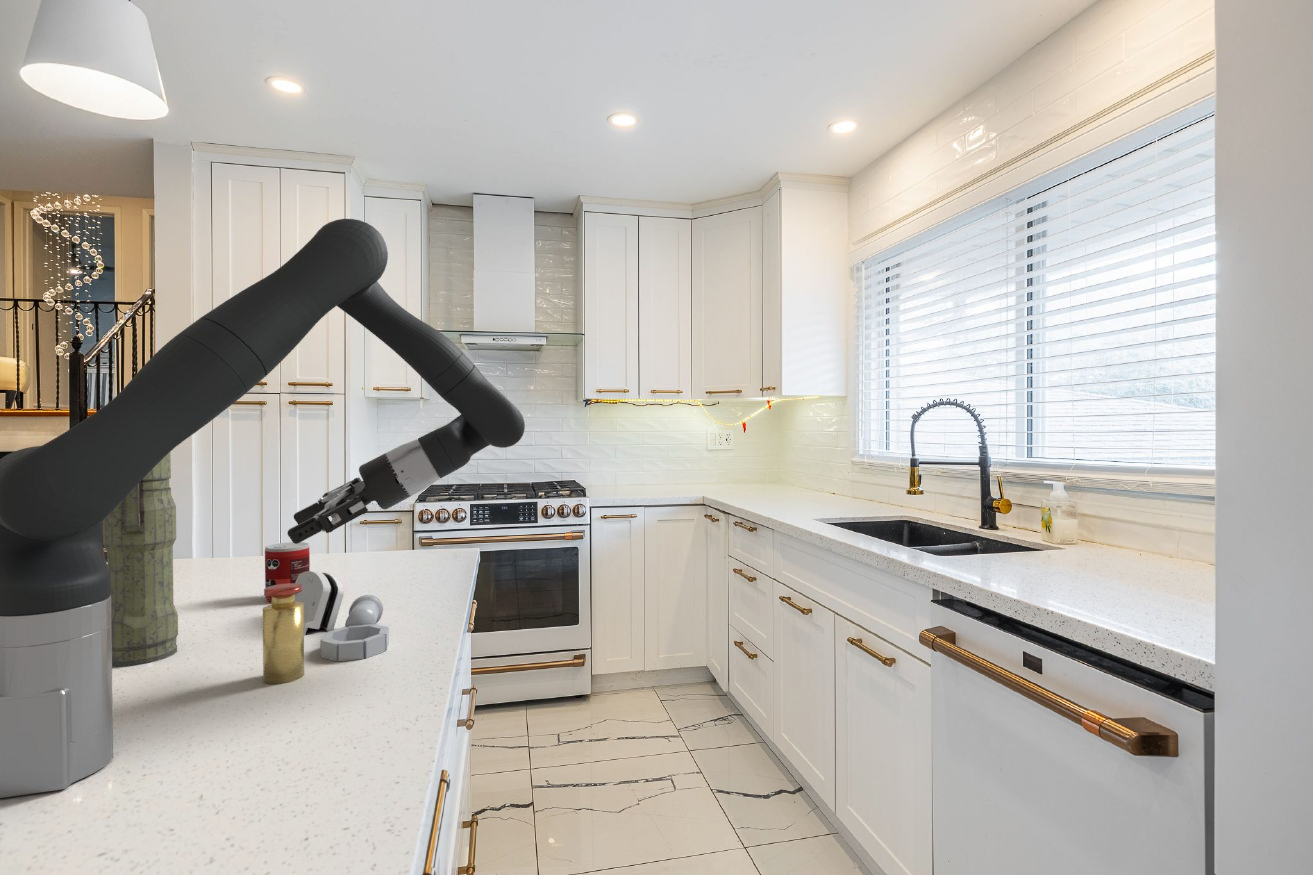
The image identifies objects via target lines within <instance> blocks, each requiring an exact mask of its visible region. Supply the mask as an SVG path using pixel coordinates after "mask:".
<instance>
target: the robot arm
mask: <svg viewBox="0 0 1313 875" xmlns="http://www.w3.org/2000/svg"><path fill="white" fill-rule="evenodd" d="M388 254H389V253H388V246H387V243H386V241H385V238H384V237H383V235H382V234H381V233H380V231H379V230H377V228H375V227H374V226H372V225H371V224H369V223H367V222H365V221H363V220H360V219H355V218H340V219H336V220H332V221H329V222H328V223H325V224H324V225H323V226H321V227H320V228H319V229H318V230H317V232H316V233H315V234H314V236H312V237H311V239H309V241H308V242H307V243H305V245H304V246H303V247H302V248H300V250H299V251H297V252H296V253H295V254H294V255H293V256H292V257H291V258H290V259H289V260H287V261H286V262H285V263H284V264H282V265H281V266H280V267H279V268H278V269H276V270H275V271H273V272H272V273H270V274H269V275H267V276H265V277H263V278H261V279H260V280H258V281H257V282H254V283H253V284H251V285H250V286H248V287H246V288H245V289H243V290H241V291H240V292H238V293H236V294H235V295H233V296H232V297H230V298H228V299H227V300H225V301H223V302H222V303H221V304H219V305H218V306H216V307H215V308H214V309H212V310H210V311H209V312H206V314H204V315H203V316H201V317H199V318H198V319H196V320H195V321H194V322H193V323H192V324H190V325H189V326H187V327H186V328H185V329H183V330H182V331H181V332H179V333H178V334H176V335H175V336H173V338H171V339H170V340H169V341H168V342H167V343H165V344H164V345H163V346H162V347H161V348H160V349H159V350H157V352H155V354H154V355H153V356H152V357H151V358H150V359H149V360H147V362H146V363H145V364H144V365H143V366H142V367H141V368H140V369H139V371H137V373H136V374H135V375H134V377H133V378H132V379H131V380H130V381H129V382H128V383H127V384H126V386H125V387H124V388H123V389H122V390H121V391H119V393H118V394H117V395H116V396H115V397H114V398H112V399H111V400H110V401H109V402H108V403H106V404H105V405H104V406H103V407H101V408H100V409H98V410H97V411H96V412H94V413H92V415H91V414H90V415H89V416H88V417H86V418H85V419H83V420H82V421H80V422H79V423H77V424H75V425H74V426H72V427H71V428H69V429H68V430H67V431H65V432H63V433H62V434H60V435H57V437H54V438H53V439H52V440H49V441H48V442H46V443H44V444H42V445H37V446H36V445H35V446H31V447H25V448H21V449H18V450H15V451H13V452H10V453H8V454H6V455H4V456H3V457H1V458H0V799H3V798H9V797H11V798H12V797H17V796H25V795H32V794H38V793H45V792H52V791H53V792H54V791H60V790H65V789H67V788H68V787H69V786H70V785H72V784H73V783H75V782H77V781H79V780H81V779H83V778H86V777H89V776H91V775H92V774H94V773H96V772H98V771H99V770H101V769H103V768H104V767H105V766H107V765H108V764H109V763H110V762H111V761H112V759H113V758H114V717H113V716H114V715H113V713H114V712H113V711H114V710H113V703H114V702H113V666H112V632H111V623H112V620H111V574H110V571H109V568H108V565H107V559H106V557H105V556H106V555H105V550H104V546H103V520H104V519H105V518H106V517H107V516H108V515H109V514H110V513H111V512H112V511H113V510H114V509H115V508H116V507H117V506H118V505H119V504H120V502H121V501H122V500H123V499H124V498H125V497H126V496H127V495H128V494H129V493H130V492H131V491H132V490H133V489H134V488H135V486H136V485H137V484H138V483H139V482H140V481H141V480H142V479H143V478H144V477H145V476H146V475H147V474H148V473H149V472H150V471H151V470H152V469H153V468H154V467H155V466H156V465H157V464H158V463H159V462H160V461H161V460H162V459H163V458H164V457H165V456H166V455H167V454H168V453H169V452H170V453H171V452H172V451H173V450H174V449H175V448H176V447H178V446H179V445H180V444H182V443H183V442H184V441H186V440H187V439H189V438H190V437H191V436H192V435H194V434H196V433H197V432H199V430H201V429H202V428H204V427H205V426H206V425H207V424H209V423H210V422H211V421H213V420H214V419H215V418H216V417H218V416H219V415H220V414H222V413H223V412H224V411H226V410H227V409H228V408H229V407H231V406H232V405H233V404H235V403H236V402H237V401H238V400H240V399H241V398H242V397H244V396H245V395H246V394H247V393H249V392H250V391H251V389H253V388H254V387H255V386H256V385H257V384H259V383H260V382H261V381H262V380H263V379H264V378H266V377H267V376H268V375H269V374H270V373H271V372H273V370H275V368H277V366H279V365H280V363H282V361H284V359H285V358H286V357H288V355H289V354H290V353H291V352H292V351H294V349H295V348H296V347H297V346H298V345H299V344H300V343H301V341H302V340H303V339H304V338H305V337H306V336H307V335H308V334H309V332H310V331H311V330H312V329H313V328H314V327H315V326H316V324H317V323H318V322H320V320H322V318H324V317H325V316H326V315H327V314H328V313H329V312H330V311H332V310H333V309H334V308H336V307H337V308H339V309H340V310H341V311H343V312H344V313H345V314H347V315H348V316H350V317H352V319H354V320H355V321H357V322H358V323H359V324H360V325H361V326H363V327H364V328H365V329H366V330H368V331H369V332H370V333H372V334H373V335H374V336H375V337H376V338H378V339H379V340H380V341H381V342H383V343H384V345H386V346H387V347H388V348H390V349H391V350H392V351H393V352H394V353H395V354H397V355H398V356H399V357H400V358H402V360H403V361H405V363H407V365H409V367H410V368H412V370H413V371H414V372H415V373H417V374H418V375H419V376H420V377H421V378H422V379H423V380H424V381H425V383H427V385H429V386H430V388H432V389H433V390H434V392H436V393H437V394H438V395H439V396H440V397H441V398H442V399H443V400H444V401H445V402H446V403H448V404H449V405H450V406H452V407H453V408H455V410H457V412H458V413H459V414H460V415H458V416H457V417H455V418H454V419H453V420H451V421H450V422H448V423H447V424H446V425H443V426H441V427H439V428H436V429H434V430H432V431H429V432H428V433H426V434H424V435H422V436H419V437H418V438H416V439H414V440H411V441H409V442H405V443H404V444H401V445H399V446H396V447H395V448H393V449H391V450H389V451H386V452H385V453H383V454H380V455H379V456H377V457H375V458H373V459H371V460H369V461H367V462H365V463H363V464H361V465H359V467H358V472H359V475H360V477H359V476H358V477H355V478H353V479H351V480H350V481H347V482H345V483H344V484H343V485H340V486H337V487H335V488H334V489H332V490H330V491H328V492H325V493H323V495H322V496H321V497H319V499H318V500H317V502H315V503H312V504H310V505H309V506H308V505H307V507H305V508H303V509H301V510H298V511H297V512H295V513H294V515H293V519H294V520H295V522H296V525H294V526H293V527H291V528H289V529H288V530H287V536H288V537H289V538H290V541H291V542H293V543H295V544H298V543H300V542H303V541H306V540H307V539H309V538H311V537H313V536H315V535H317V534H319V533H321V532H322V533H324V532H325V533H326V534H329V533H332V532H333V531H335V530H337V529H339V528H340V527H342V526H344V525H345V524H347V523H349V522H352V521H353V520H354V519H356V518H358V517H361V516H362V515H365V514H366V513H367V512H369V509H368V508H367V506H368V505H370V504H371V503H372V502H376V503H377V506H379V507H380V509H382V510H388V509H390V508H392V507H394V506H396V505H398V504H399V503H401V502H403V501H405V500H407V499H409V498H411V497H413V496H414V495H417V494H418V493H419V492H422V491H423V490H426V489H427V488H429V487H431V485H434V484H435V483H436V482H437V481H439V480H440V479H442V478H445V477H447V476H449V475H450V474H451V473H453V472H456V471H458V470H460V469H461V468H462V467H464V466H465V465H467V464H468V463H469V462H470V460H471V458H472V456H474V455H475V454H477V453H478V452H480V451H481V450H483V449H486V448H487V447H488V446H492V447H495V448H501V449H505V448H509V447H512V446H514V445H516V444H518V443H519V442H520V440H521V439H522V437H523V435H524V433H525V428H526V424H525V419H524V416H523V414H522V413H521V411H520V410H519V409H518V408H517V406H515V404H513V403H512V401H511V400H510V399H508V398H507V396H505V395H504V394H503V393H502V392H501V391H500V390H499V389H498V388H496V387H495V385H493V384H492V383H491V382H490V381H489V380H488V379H487V378H486V377H485V376H484V374H483V373H482V372H481V370H479V368H478V367H477V366H476V365H475V364H474V362H473V361H472V360H471V359H470V358H469V357H468V356H467V355H466V354H465V353H464V352H463V351H462V350H461V348H460V347H459V346H458V345H456V343H454V342H453V341H452V340H451V339H450V338H448V336H446V335H444V333H442V332H440V331H439V330H438V329H436V328H434V327H433V326H431V325H430V324H428V323H426V322H425V321H423V320H421V319H419V317H418V318H417V317H416V316H415V315H414V314H412V313H411V312H409V311H407V310H406V309H405V308H404V307H402V306H401V305H400V304H399V303H398V302H396V301H395V300H394V299H393V298H392V297H391V296H390V295H389V294H388V293H387V292H386V290H385V289H384V288H383V286H381V284H380V283H379V280H380V279H381V278H382V276H383V274H384V273H385V270H386V267H387V265H388V258H389V255H388ZM329 517H331V520H330V519H329Z"/></svg>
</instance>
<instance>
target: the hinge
mask: <svg viewBox="0 0 1313 875" xmlns="http://www.w3.org/2000/svg"><path fill="white" fill-rule="evenodd" d="M295 583H296V584H301V585H302V591H301V592H299V593H296V594H295V602H302V603H303V604H304V637H305V636H306V633H307V631H308V628H309V629H315V630H320V628H322V629H324V630H325V631H328V632H329V631H332V630H335V629H334V628H335V626H336V623H337V622H336V621H337V619H338V615H339V612H340V609H341V605H342V601H343V598H344V596H345V590H344V586H343V584H342V582H341V581H340V580H339V579H338V578H337V577H336V576H334V575H332V574H329V573H327V572H321V571H315V570H312V571H311V570H310V571H306V572H303V573H301V574H299V576H298V578H297V580H296V582H295Z"/></svg>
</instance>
